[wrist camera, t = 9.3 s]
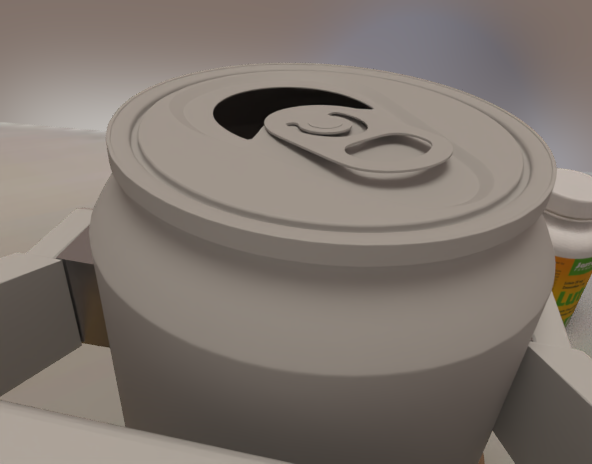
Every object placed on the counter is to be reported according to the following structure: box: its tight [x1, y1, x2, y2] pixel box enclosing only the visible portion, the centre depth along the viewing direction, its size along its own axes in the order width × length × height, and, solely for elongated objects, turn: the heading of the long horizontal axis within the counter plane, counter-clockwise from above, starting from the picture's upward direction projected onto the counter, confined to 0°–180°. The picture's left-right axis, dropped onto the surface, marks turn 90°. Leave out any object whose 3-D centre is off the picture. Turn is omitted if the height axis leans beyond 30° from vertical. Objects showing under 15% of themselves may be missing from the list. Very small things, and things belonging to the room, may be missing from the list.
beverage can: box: [89, 63, 557, 464], centre depth 10 cm, size 6×6×12 cm
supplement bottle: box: [542, 168, 592, 328], centre depth 32 cm, size 5×5×10 cm
